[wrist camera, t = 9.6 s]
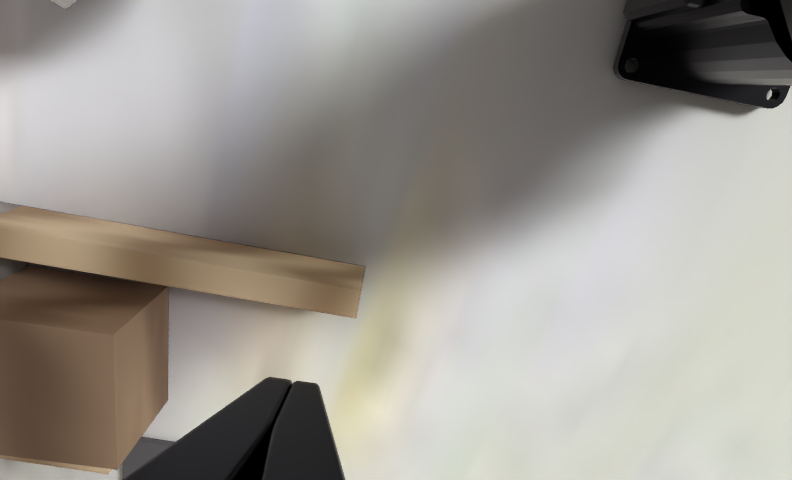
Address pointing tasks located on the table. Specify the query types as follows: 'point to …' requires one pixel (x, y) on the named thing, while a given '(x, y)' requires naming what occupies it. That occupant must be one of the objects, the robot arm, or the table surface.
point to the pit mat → (143, 453)
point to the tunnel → (173, 265)
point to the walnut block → (80, 365)
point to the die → (64, 3)
